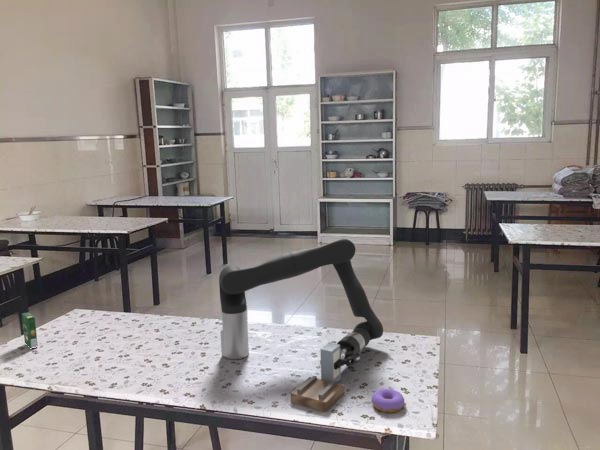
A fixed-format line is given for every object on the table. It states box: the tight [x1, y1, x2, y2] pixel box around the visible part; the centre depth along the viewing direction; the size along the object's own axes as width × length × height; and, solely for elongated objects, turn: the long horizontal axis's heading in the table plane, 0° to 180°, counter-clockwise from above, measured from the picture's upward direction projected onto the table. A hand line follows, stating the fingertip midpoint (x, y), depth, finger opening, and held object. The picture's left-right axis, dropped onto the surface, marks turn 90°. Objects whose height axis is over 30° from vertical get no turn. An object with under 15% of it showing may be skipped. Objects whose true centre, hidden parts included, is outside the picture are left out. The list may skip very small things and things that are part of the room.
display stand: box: [290, 375, 345, 413], centre depth 153 cm, size 12×12×4 cm
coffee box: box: [21, 312, 39, 349], centre depth 200 cm, size 8×3×13 cm, turn 44°
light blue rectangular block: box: [320, 342, 342, 383], centre depth 162 cm, size 4×6×12 cm
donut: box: [371, 388, 405, 413], centre depth 148 cm, size 10×9×5 cm
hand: (328, 365), depth 161 cm, fingers closed on light blue rectangular block, 4 cm apart
